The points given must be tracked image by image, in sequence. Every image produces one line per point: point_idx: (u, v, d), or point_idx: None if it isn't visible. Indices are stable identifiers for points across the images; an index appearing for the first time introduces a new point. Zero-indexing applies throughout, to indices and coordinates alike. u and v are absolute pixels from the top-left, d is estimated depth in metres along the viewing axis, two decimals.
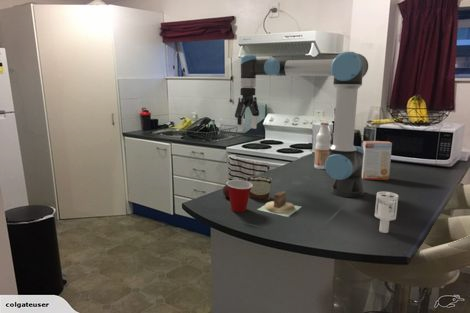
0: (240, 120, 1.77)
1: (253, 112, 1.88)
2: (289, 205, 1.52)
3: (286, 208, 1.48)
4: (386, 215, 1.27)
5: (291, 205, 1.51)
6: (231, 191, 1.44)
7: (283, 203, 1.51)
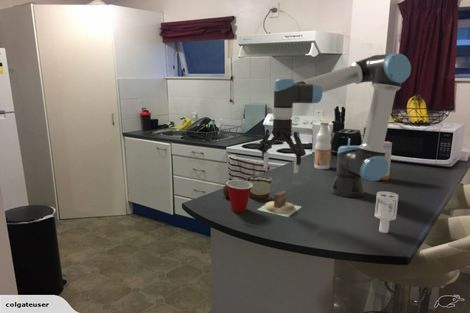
0: (263, 155, 1.51)
1: None
2: (289, 205, 1.52)
3: (286, 208, 1.48)
4: (386, 215, 1.27)
5: (291, 205, 1.52)
6: (231, 191, 1.44)
7: (283, 203, 1.51)
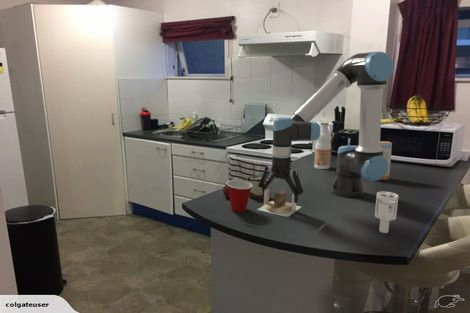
0: (263, 191, 1.54)
1: None
2: (289, 205, 1.52)
3: (286, 208, 1.48)
4: (386, 215, 1.27)
5: (291, 205, 1.52)
6: (231, 191, 1.44)
7: (283, 203, 1.51)
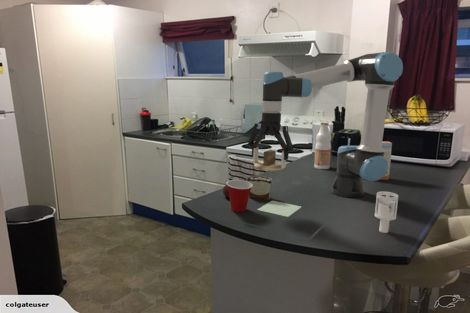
0: (253, 150, 1.49)
1: None
2: (279, 164, 1.47)
3: (276, 166, 1.43)
4: (386, 215, 1.27)
5: None
6: (231, 191, 1.44)
7: (273, 162, 1.47)
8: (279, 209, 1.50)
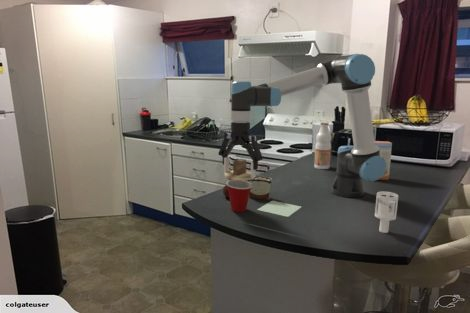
0: (223, 159, 1.48)
1: None
2: (249, 173, 1.46)
3: (245, 176, 1.43)
4: (386, 215, 1.27)
5: None
6: (231, 191, 1.44)
7: (243, 171, 1.46)
8: (279, 209, 1.50)
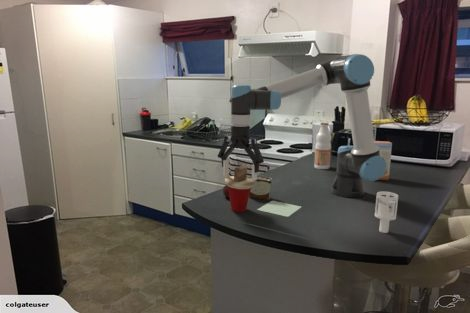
0: (222, 162, 1.49)
1: None
2: (249, 180, 1.47)
3: (246, 183, 1.43)
4: (386, 215, 1.27)
5: (252, 181, 1.47)
6: (231, 191, 1.44)
7: (244, 178, 1.47)
8: (279, 209, 1.50)
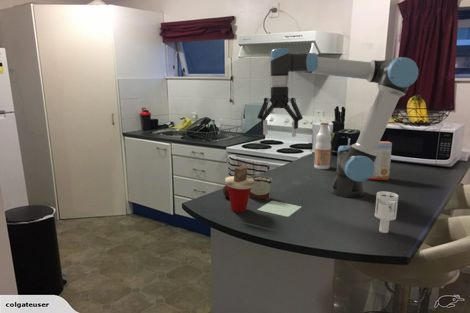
0: (262, 122, 1.62)
1: None
2: (250, 180, 1.47)
3: (246, 183, 1.43)
4: (386, 215, 1.27)
5: (252, 181, 1.47)
6: (231, 191, 1.44)
7: (244, 178, 1.47)
8: (279, 209, 1.50)
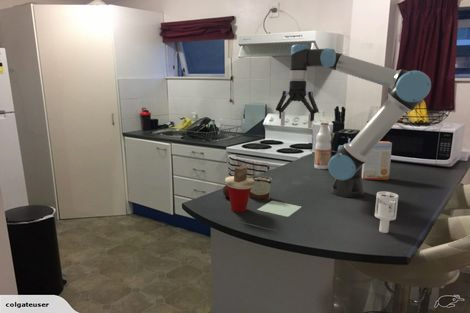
0: (280, 114, 1.71)
1: None
2: (250, 180, 1.47)
3: (246, 183, 1.43)
4: (386, 215, 1.27)
5: (252, 181, 1.47)
6: (231, 191, 1.44)
7: (244, 178, 1.47)
8: (279, 209, 1.50)
